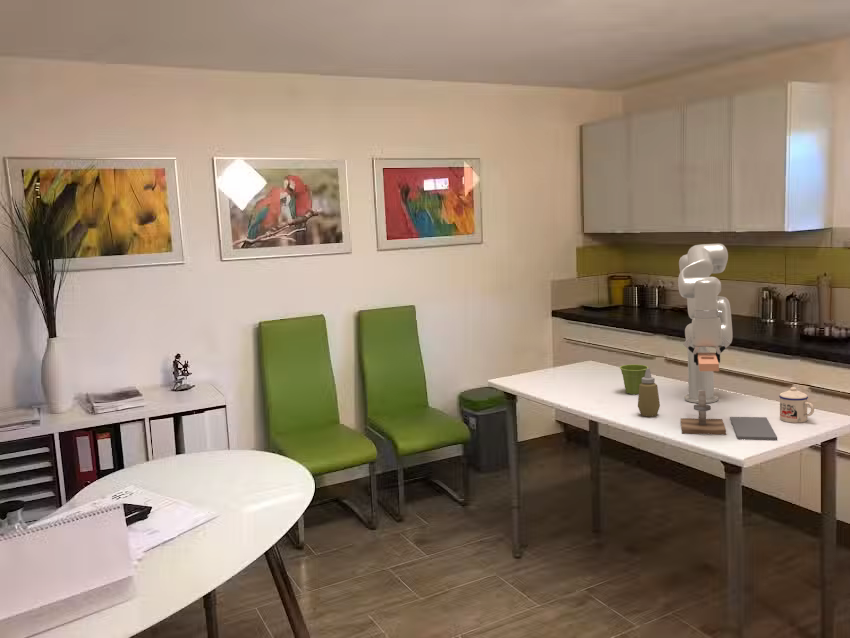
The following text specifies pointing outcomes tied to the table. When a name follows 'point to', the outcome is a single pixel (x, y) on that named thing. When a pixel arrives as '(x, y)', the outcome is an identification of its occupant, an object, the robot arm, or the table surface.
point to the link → (708, 362)
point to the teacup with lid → (794, 406)
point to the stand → (702, 420)
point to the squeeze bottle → (648, 396)
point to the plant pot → (633, 377)
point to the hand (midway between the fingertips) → (706, 364)
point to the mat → (753, 428)
